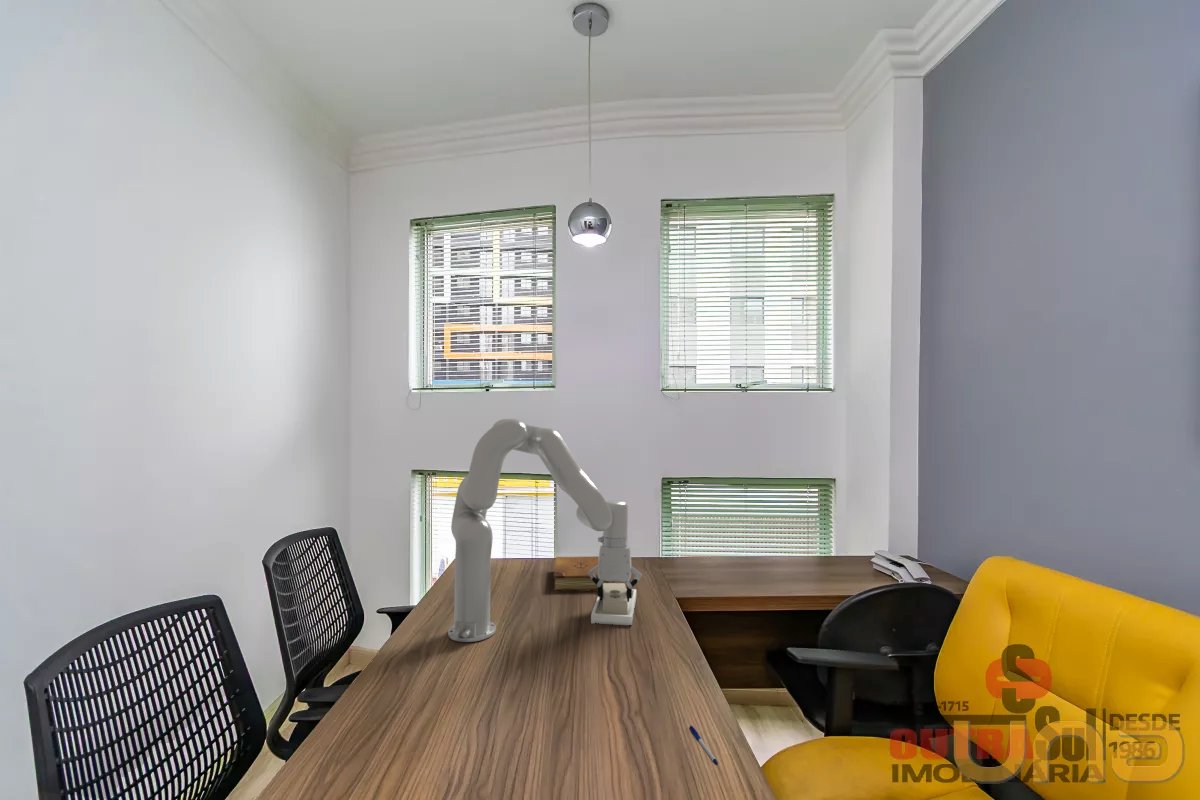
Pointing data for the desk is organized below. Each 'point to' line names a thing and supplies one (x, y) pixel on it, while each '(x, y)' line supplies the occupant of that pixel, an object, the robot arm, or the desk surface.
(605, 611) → the electrical outlet
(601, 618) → the holder tray
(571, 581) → the diary
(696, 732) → the ballpoint pen
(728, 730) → the desk surface
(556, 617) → the desk surface
